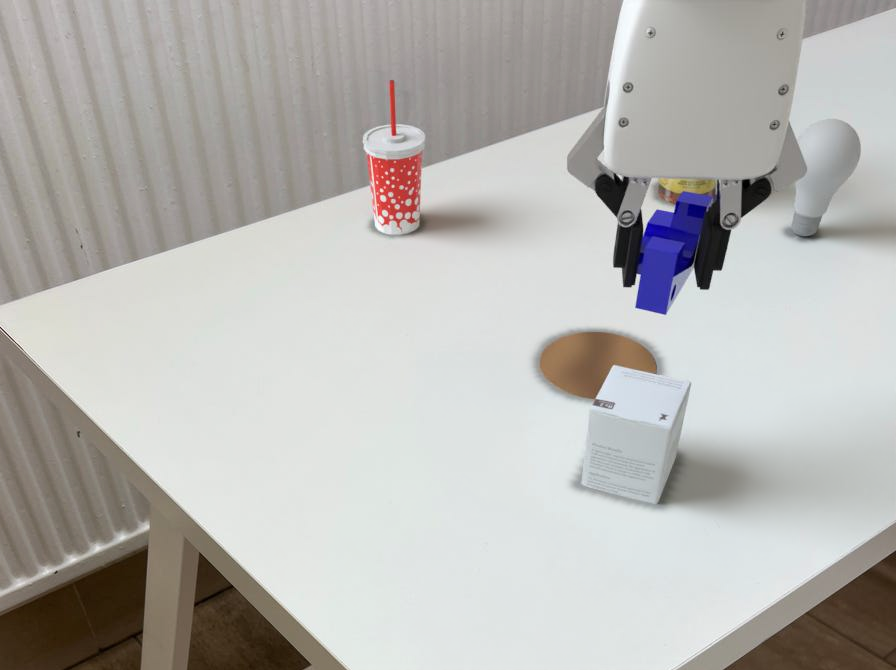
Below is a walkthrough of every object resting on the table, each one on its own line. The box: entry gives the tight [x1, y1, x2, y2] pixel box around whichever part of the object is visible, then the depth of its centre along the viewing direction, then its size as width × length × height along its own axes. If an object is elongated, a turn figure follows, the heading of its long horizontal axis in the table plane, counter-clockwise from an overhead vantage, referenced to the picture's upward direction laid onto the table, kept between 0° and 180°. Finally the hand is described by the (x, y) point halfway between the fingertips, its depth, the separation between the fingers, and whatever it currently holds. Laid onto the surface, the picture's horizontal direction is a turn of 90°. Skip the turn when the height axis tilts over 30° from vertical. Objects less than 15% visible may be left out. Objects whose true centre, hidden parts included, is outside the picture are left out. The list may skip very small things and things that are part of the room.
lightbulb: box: [790, 118, 862, 237], centre depth 93 cm, size 6×6×11 cm
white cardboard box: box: [581, 365, 692, 505], centre depth 72 cm, size 6×6×7 cm
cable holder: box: [634, 191, 714, 316], centre depth 62 cm, size 8×4×4 cm, turn 154°
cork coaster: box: [538, 331, 657, 400], centre depth 84 cm, size 10×10×1 cm
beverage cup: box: [362, 79, 426, 236], centre depth 96 cm, size 6×6×14 cm
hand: (664, 275), depth 63 cm, fingers closed on cable holder, 4 cm apart
